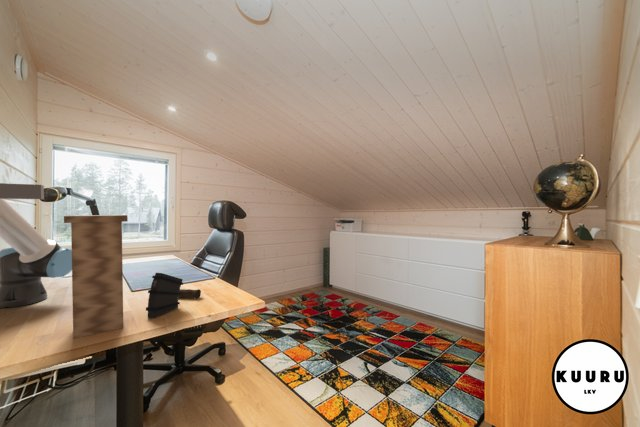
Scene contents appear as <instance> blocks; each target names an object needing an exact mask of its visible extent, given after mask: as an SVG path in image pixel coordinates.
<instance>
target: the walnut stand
mask: <svg viewBox="0 0 640 427" xmlns="http://www.w3.org/2000/svg"><path fill="white" fill-rule="evenodd" d="M128 219H129V218H128V214H106V215H105V214H102V215H101V214H98V215H97V214H95V215H93V214H92V215H91V214H90V215H89V214H88V215H85V214H84V215H64V216H63V224H71V225H70V226H71V227H70V228H71V232H70V233H71V239H70V240H71V250H72V271H71V281H72V282H71V284H72V285H71V288H72V339H76V338H81V337H86V336H90V335H96V334H100V333H104V332H110V331H113V330H114V331H115V330H118V329H123V328H124V287H123V285H124V284H123V281H124V279H123V278H124V277H123V275H124V274H123V222H125V223H126V222H128V221H129V220H128Z"/></svg>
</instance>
